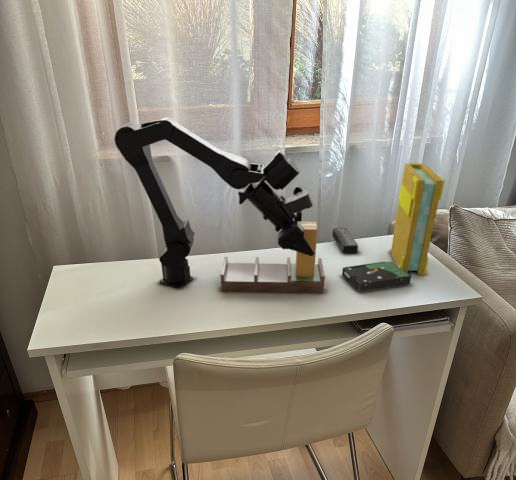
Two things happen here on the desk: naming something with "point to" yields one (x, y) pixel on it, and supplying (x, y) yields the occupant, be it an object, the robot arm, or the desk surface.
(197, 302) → the desk surface
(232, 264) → the rack
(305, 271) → the package
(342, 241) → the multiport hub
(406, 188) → the book
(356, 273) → the disk drive
